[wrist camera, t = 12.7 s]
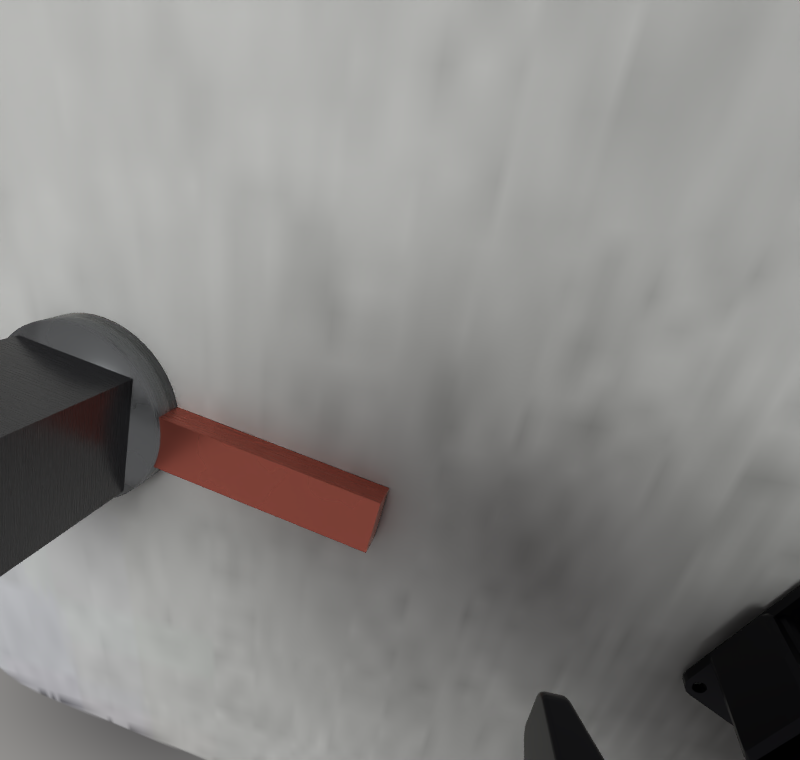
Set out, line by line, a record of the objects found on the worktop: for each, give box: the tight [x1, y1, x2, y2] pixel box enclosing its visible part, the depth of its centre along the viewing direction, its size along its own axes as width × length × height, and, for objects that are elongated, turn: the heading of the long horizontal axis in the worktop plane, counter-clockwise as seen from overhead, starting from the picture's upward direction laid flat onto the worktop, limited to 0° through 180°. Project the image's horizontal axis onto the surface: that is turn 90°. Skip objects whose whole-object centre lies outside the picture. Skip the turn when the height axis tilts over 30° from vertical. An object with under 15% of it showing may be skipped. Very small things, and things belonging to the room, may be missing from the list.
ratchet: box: [8, 313, 389, 553], centre depth 22 cm, size 18×8×4 cm, turn 74°
